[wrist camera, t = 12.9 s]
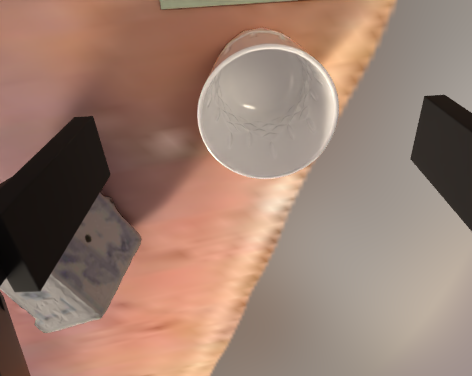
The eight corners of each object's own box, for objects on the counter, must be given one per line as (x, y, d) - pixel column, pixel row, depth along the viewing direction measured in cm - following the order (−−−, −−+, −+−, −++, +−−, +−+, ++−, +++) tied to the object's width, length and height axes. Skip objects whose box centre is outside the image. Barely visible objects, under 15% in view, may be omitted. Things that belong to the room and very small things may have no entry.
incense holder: (17, 196, 35) (-58, 274, 26) (81, 158, 33) (22, 229, 24) (86, 261, 39) (42, 346, 31) (147, 232, 37) (118, 315, 28)
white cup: (321, 97, 29) (355, 150, 21) (234, 133, 31) (233, 196, 23) (288, -1, 26) (313, 15, 17) (192, 46, 27) (171, 83, 19)
